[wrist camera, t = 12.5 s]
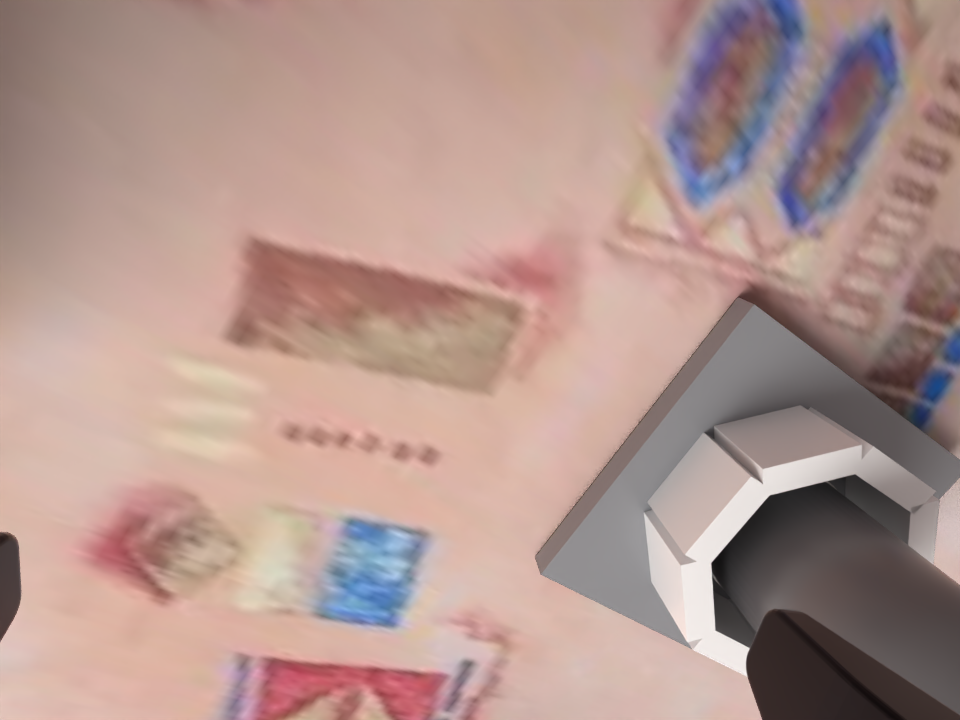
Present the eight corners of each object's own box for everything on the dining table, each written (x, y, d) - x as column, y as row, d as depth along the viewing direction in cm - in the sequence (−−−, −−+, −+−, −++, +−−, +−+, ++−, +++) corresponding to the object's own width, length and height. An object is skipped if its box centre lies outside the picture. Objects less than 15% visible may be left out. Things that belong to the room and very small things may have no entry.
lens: (721, 601, 24) (1018, 1010, 13) (666, 504, 22) (958, 884, 11) (843, 531, 24) (1261, 888, 12) (798, 427, 22) (1243, 735, 10)
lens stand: (751, 665, 27) (810, 750, 23) (534, 557, 23) (562, 636, 20) (947, 454, 24) (1048, 511, 21) (737, 297, 21) (814, 330, 17)
